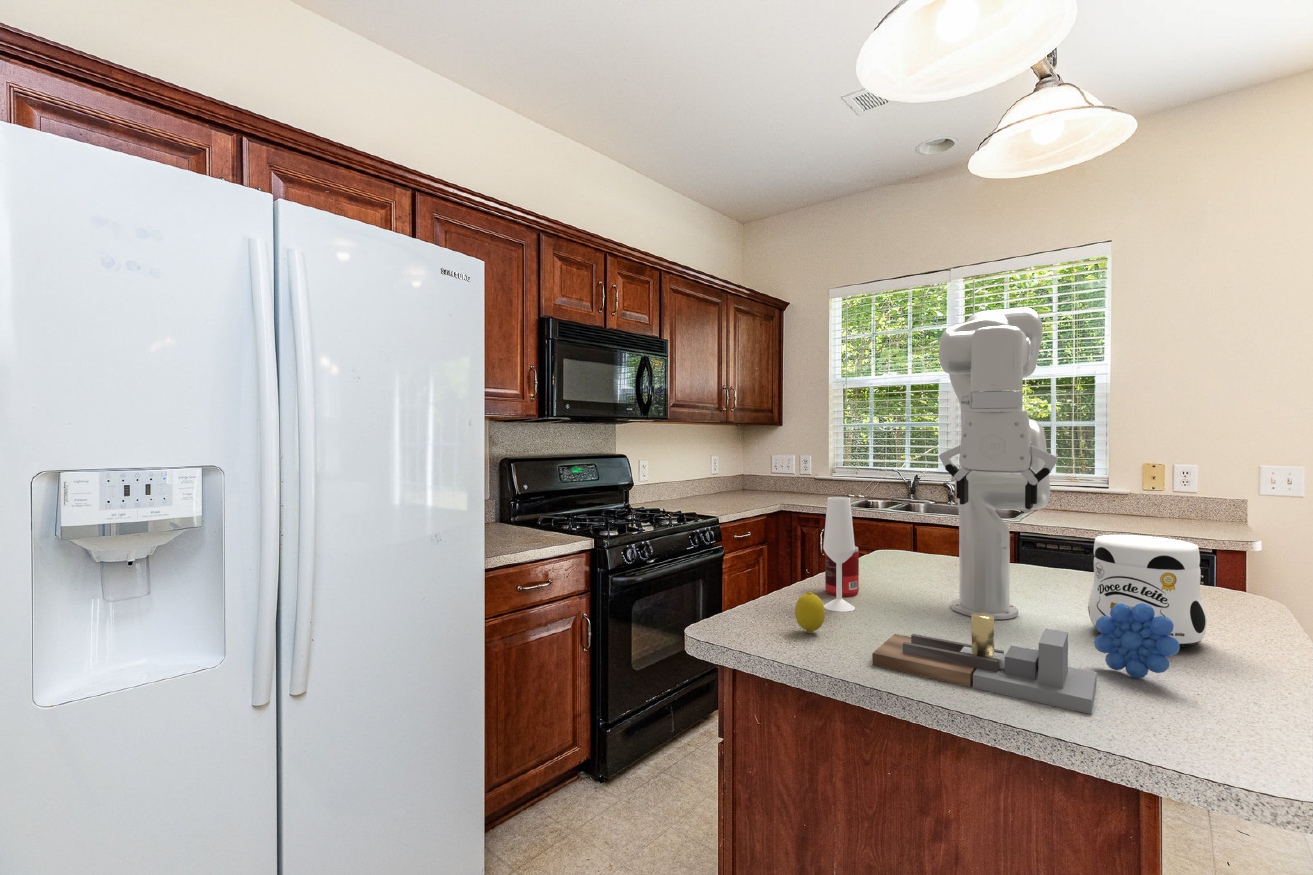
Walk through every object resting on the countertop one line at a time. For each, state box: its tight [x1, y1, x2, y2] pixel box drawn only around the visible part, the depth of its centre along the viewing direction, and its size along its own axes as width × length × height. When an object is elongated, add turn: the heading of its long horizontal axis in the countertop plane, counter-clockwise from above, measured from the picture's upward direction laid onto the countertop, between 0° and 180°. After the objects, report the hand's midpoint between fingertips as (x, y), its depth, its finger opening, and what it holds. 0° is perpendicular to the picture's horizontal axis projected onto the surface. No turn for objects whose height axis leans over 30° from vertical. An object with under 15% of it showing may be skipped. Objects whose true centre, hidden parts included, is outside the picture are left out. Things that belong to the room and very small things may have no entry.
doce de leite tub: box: [1087, 534, 1208, 648], centre depth 116 cm, size 17×17×18 cm
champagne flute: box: [822, 496, 856, 613], centre depth 137 cm, size 7×7×24 cm
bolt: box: [960, 613, 1006, 670], centre depth 98 cm, size 3×10×7 cm, turn 52°
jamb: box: [972, 628, 1097, 715], centre depth 95 cm, size 12×15×8 cm
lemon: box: [794, 591, 826, 634], centre depth 120 cm, size 6×6×8 cm
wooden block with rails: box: [871, 633, 1005, 688], centre depth 103 cm, size 12×18×4 cm, turn 52°
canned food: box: [824, 545, 860, 598], centre depth 149 cm, size 8×8×11 cm
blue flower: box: [1093, 603, 1181, 679], centre depth 98 cm, size 12×7×12 cm, turn 27°
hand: (995, 505), depth 104 cm, fingers open, 9 cm apart
